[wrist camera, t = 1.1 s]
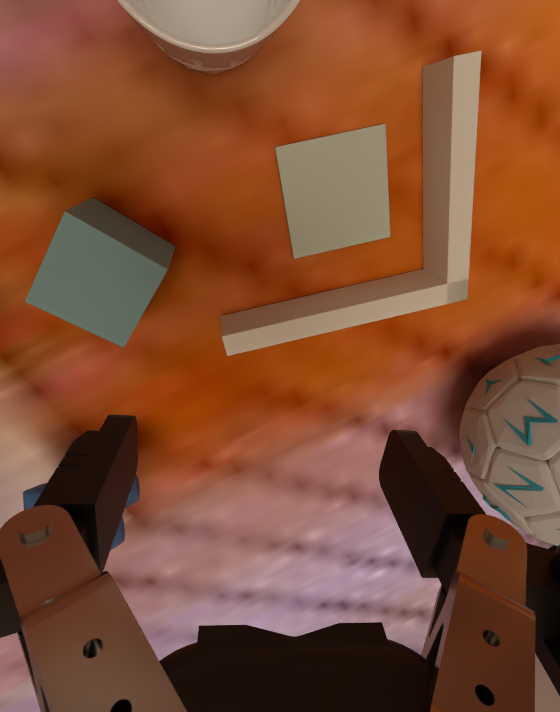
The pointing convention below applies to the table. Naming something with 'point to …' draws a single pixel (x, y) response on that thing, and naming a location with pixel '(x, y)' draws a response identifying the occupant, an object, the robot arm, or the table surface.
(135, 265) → the teal block
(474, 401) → the puzzle ball
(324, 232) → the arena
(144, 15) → the white cup
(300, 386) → the table surface
